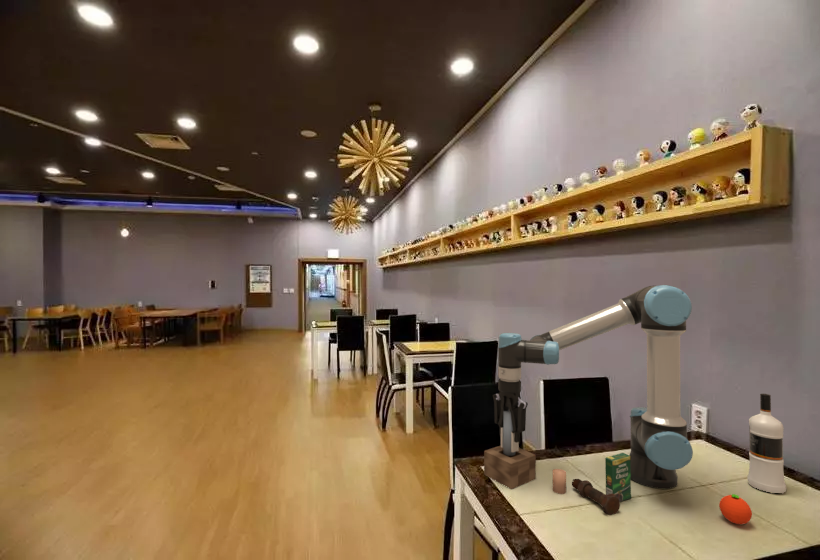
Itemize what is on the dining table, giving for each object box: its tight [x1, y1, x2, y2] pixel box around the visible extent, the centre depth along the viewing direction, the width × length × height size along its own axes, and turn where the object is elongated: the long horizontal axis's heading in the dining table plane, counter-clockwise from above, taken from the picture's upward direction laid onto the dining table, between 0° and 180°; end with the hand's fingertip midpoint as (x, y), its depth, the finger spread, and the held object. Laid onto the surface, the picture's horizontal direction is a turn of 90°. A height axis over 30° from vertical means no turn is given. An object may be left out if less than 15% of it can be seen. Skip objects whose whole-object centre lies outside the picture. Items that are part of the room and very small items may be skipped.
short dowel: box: [552, 468, 567, 495], centre depth 124 cm, size 4×4×6 cm
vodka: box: [746, 393, 787, 494], centre depth 127 cm, size 9×9×30 cm
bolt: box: [571, 478, 621, 516], centre depth 119 cm, size 6×5×15 cm
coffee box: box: [604, 452, 632, 503], centre depth 119 cm, size 8×3×13 cm, turn 113°
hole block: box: [483, 445, 537, 490], centre depth 133 cm, size 12×12×8 cm
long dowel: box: [503, 409, 516, 456], centre depth 134 cm, size 4×4×14 cm
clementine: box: [718, 493, 753, 525], centre depth 108 cm, size 8×7×7 cm
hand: (509, 448), depth 133 cm, fingers closed on long dowel, 4 cm apart
